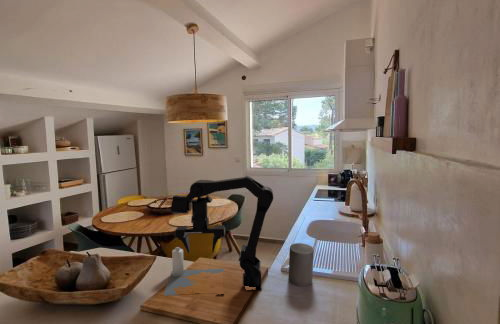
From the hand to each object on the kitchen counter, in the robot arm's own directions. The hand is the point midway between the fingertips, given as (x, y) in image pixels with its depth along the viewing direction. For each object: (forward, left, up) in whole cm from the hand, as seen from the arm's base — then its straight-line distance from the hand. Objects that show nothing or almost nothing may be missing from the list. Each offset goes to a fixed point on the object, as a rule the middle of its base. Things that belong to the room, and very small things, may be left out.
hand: (201, 252), depth 106 cm
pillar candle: (-40, 0, -13) cm, 42 cm away
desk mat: (+2, -1, -13) cm, 13 cm away
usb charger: (+10, -7, -12) cm, 17 cm away
